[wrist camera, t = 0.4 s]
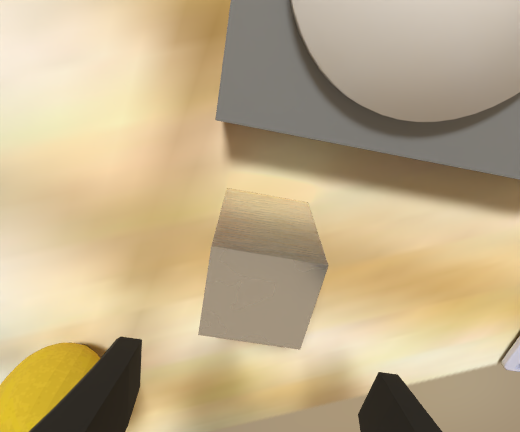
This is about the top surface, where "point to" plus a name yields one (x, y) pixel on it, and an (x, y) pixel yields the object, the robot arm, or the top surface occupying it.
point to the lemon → (42, 384)
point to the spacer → (262, 271)
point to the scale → (381, 76)
